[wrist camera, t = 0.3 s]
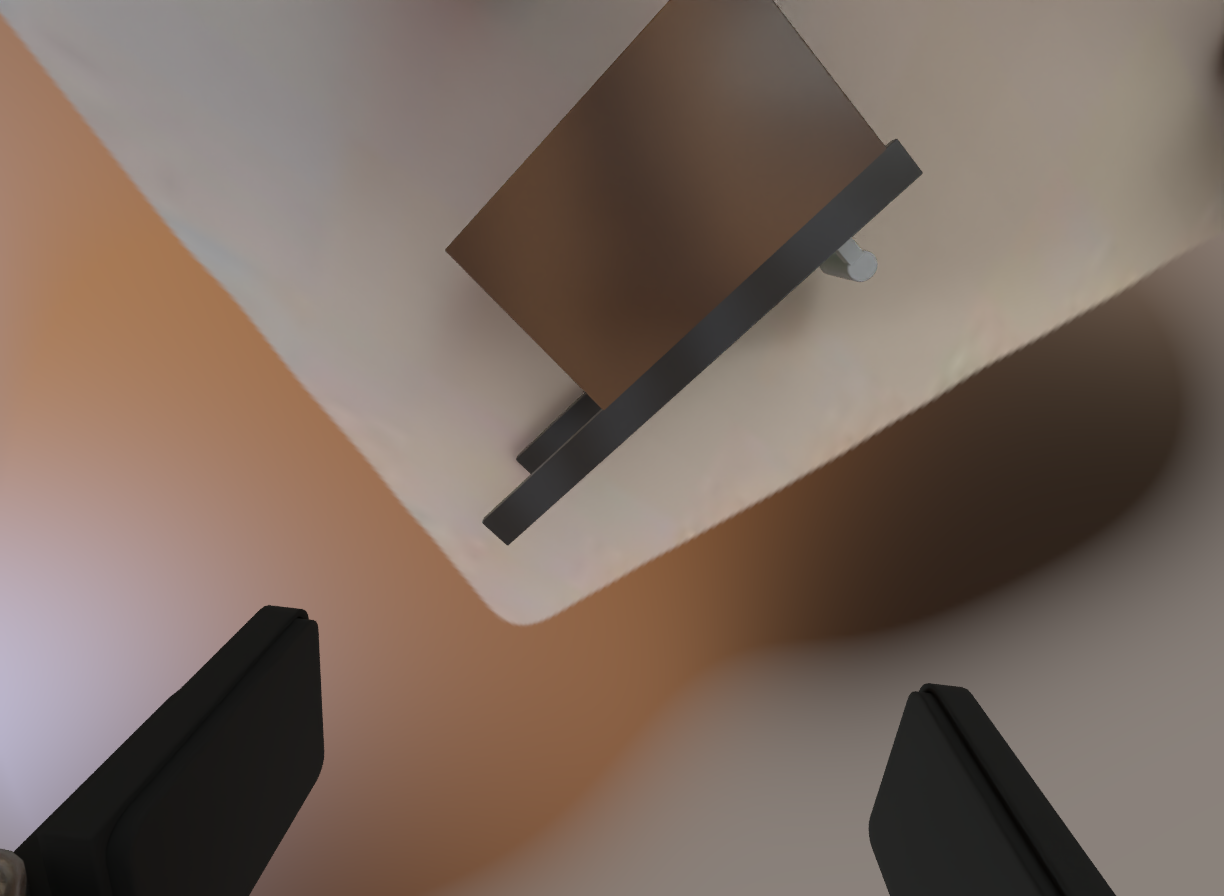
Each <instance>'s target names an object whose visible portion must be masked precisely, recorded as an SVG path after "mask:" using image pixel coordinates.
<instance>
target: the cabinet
mask: <svg viewBox="0 0 1224 896" xmlns="http://www.w3.org/2000/svg"><path fill="white" fill-rule="evenodd" d="M920 175H922V171H921V170H920V168H919V167H918V166H917V164H916V163H915V162H914V160H913V159H912V158H911V156H910V155H909V154H908V153H907V151H906V150H905V149H904V147H903V146H902V145H901V143H900V142H899V141H898V139H895V140H892V141H890V142H889V143H888V144H887V145H886V146H884V144H883V143H882V142H881V140H880V139H879V138H878V136H877V135H876V134H875V133H874V131H873V130H872V129H871V127H870V126H869V125H868V123H867V122H866V121H865V120H864V118H863V117H862V116H861V114H860V113H859V112H858V110H857V109H856V108H855V107H854V105H853V104H852V103H851V101H850V100H849V99H848V97H847V96H846V95H845V94H844V92H843V91H842V90H841V88H840V87H839V86H838V84H837V83H836V82H835V81H834V79H833V78H832V77H831V75H830V74H829V73H828V71H827V70H826V69H825V68H824V66H823V65H822V64H821V62H820V61H819V60H818V58H817V57H816V56H815V55H814V53H813V52H812V51H811V49H810V48H809V47H808V45H807V44H806V43H805V42H804V40H803V39H802V38H801V36H800V35H799V34H798V32H797V31H796V30H795V29H794V27H793V26H792V25H791V23H790V22H789V21H788V19H787V18H786V17H785V16H784V14H783V13H782V12H781V10H780V9H779V8H778V6H777V5H776V4H775V3H774V1H773V0H669V1H668V2H667V4H666V5H665V6H664V7H663V8H662V9H661V10H660V11H659V12H658V14H657V15H656V16H655V17H654V18H653V19H652V20H651V21H650V22H649V24H648V25H647V26H646V27H645V28H644V29H643V30H642V31H641V32H640V34H639V35H638V36H637V37H636V38H635V39H634V40H633V41H632V42H631V44H630V45H629V46H628V47H627V48H626V49H625V50H624V51H623V52H622V54H621V55H620V56H619V57H618V58H617V59H616V60H615V61H614V62H613V64H612V65H611V66H610V67H609V68H608V69H607V70H606V71H605V72H604V74H603V75H602V76H601V77H600V78H599V79H598V80H597V81H596V82H595V84H594V85H593V86H592V87H591V88H590V89H589V90H588V91H587V93H586V94H585V95H584V96H583V97H582V98H581V99H580V100H579V101H578V103H577V104H576V105H575V106H574V107H573V108H572V109H571V110H570V111H569V113H568V114H567V115H566V116H565V117H564V118H563V119H562V120H561V121H560V123H559V124H558V125H557V126H556V127H555V128H554V129H553V130H552V131H551V133H550V134H549V135H548V136H547V137H546V138H545V139H544V140H543V141H542V143H541V144H540V145H539V146H538V147H537V148H536V149H535V150H534V151H533V153H532V154H531V155H530V156H529V157H528V158H527V159H526V160H525V161H524V163H523V164H522V165H521V166H520V167H519V168H518V169H517V170H516V171H515V173H514V174H513V175H512V176H511V177H510V178H509V179H508V180H507V181H506V183H505V184H504V185H503V186H502V187H501V188H500V189H499V190H498V191H497V193H496V194H495V195H494V196H493V197H492V198H491V199H490V200H489V201H488V203H487V204H486V205H485V206H484V207H483V208H482V209H481V210H480V211H479V213H478V214H477V215H476V216H475V217H474V218H473V219H472V220H471V221H470V223H469V224H468V225H467V226H466V227H465V228H464V229H463V230H462V231H461V233H460V234H459V235H458V236H457V237H456V238H455V239H454V240H453V241H452V243H451V244H450V245H449V246H448V247H447V248H446V249H445V251H446V252H447V253H448V254H449V255H450V256H451V257H452V258H453V259H454V260H455V261H456V262H457V263H458V264H459V265H460V266H461V267H462V268H463V269H464V270H465V271H466V272H467V273H468V274H469V275H470V276H471V277H472V278H473V279H474V280H475V281H476V282H477V283H478V284H479V285H480V286H481V288H482V289H483V290H484V291H485V292H486V293H487V294H488V295H489V296H490V297H491V298H492V299H493V300H494V301H495V302H496V303H497V304H498V305H499V306H500V307H501V308H502V309H503V310H504V311H505V312H506V313H507V314H508V315H509V316H510V317H511V318H512V319H513V320H514V321H515V322H516V323H517V324H518V325H519V326H520V327H521V328H522V329H523V330H524V331H525V332H526V333H527V334H528V335H529V336H530V337H531V338H532V339H533V340H534V341H535V342H536V343H537V344H538V345H539V346H540V347H541V348H542V349H543V350H544V351H545V352H546V353H547V354H548V355H549V356H550V357H551V358H552V359H553V360H554V361H555V362H556V363H557V364H558V365H559V366H560V367H561V368H562V369H563V370H564V371H565V372H566V373H567V374H568V375H569V376H570V377H571V378H572V379H573V380H574V381H575V382H576V383H577V384H578V385H579V386H580V387H581V388H582V389H583V390H584V391H585V393H584V394H582V395H581V396H580V397H579V398H578V399H577V400H576V401H575V402H574V403H573V404H572V405H571V406H570V407H569V408H568V409H567V410H566V411H564V412H563V413H562V414H561V415H560V416H559V417H558V418H557V419H556V420H555V421H554V422H553V423H552V424H551V425H550V426H549V427H548V428H546V429H545V430H544V431H543V432H542V433H541V434H540V435H539V436H538V437H537V438H536V439H535V440H534V441H533V442H532V443H531V444H530V445H528V446H527V447H526V448H525V449H524V450H523V451H522V452H521V453H520V454H519V455H518V457H517V458H516V460H517V461H518V462H519V463H520V464H521V465H522V466H523V467H524V468H525V469H526V470H527V471H528V472H530V473H531V475H530V476H529V477H528V478H526V479H525V480H524V481H523V482H522V483H521V484H520V485H519V486H518V487H517V488H516V489H515V490H513V491H512V492H511V493H510V494H509V495H508V496H507V497H506V498H505V499H504V500H503V501H502V502H501V503H499V504H498V505H497V506H496V507H495V508H494V509H493V510H492V511H491V512H490V513H489V514H488V515H486V516H485V517H484V519H483V521H482V523H483V524H484V525H485V526H486V527H487V528H488V529H490V530H491V531H492V532H493V533H494V534H495V535H496V536H497V537H498V538H499V539H501V540H502V541H503V542H504V543H505V544H506V545H509V544H510V543H511V542H512V541H514V540H515V539H516V538H517V537H518V536H519V535H520V534H521V533H522V532H524V531H525V530H526V529H527V528H528V527H529V526H530V525H531V524H533V523H534V522H535V521H536V520H537V519H538V518H539V517H540V516H541V515H543V514H544V513H545V512H546V511H547V510H548V509H549V508H550V507H551V506H553V505H554V504H555V503H556V502H557V501H558V500H559V499H560V498H562V497H563V496H564V495H565V494H566V493H567V492H568V491H569V490H570V489H572V488H573V487H574V486H575V485H576V484H577V483H578V482H579V481H580V480H582V479H583V478H584V477H585V476H586V475H587V474H588V473H589V472H590V471H592V470H593V469H594V468H595V467H596V466H597V465H598V464H599V463H601V462H602V461H603V460H604V459H605V458H606V457H607V456H608V455H609V454H611V453H612V452H613V451H614V450H615V449H616V448H617V447H618V446H619V445H621V444H622V443H623V442H624V441H625V440H626V439H627V438H628V437H630V436H631V435H632V434H633V433H634V432H635V431H636V430H637V429H638V428H640V427H641V426H642V425H643V424H644V423H645V422H646V421H647V420H648V419H650V418H651V417H652V416H653V415H654V414H655V413H656V412H657V411H658V410H660V409H661V408H662V407H663V406H664V405H665V404H666V403H667V402H669V401H670V400H671V399H672V398H673V397H674V396H675V395H676V394H677V393H679V392H680V391H681V390H682V389H683V388H684V387H685V386H686V385H687V384H689V383H690V382H691V381H692V380H693V379H694V378H695V377H696V376H698V375H699V374H700V373H701V372H702V371H703V370H704V369H705V368H706V367H708V366H709V365H710V364H711V363H712V362H713V361H714V360H715V359H716V358H718V357H719V356H720V355H721V354H722V353H723V352H724V351H725V350H726V349H728V348H729V347H730V346H731V345H732V344H733V343H734V342H735V341H737V340H738V339H739V338H740V337H741V336H742V335H743V334H744V333H745V332H747V331H748V330H749V329H750V328H751V327H752V326H753V325H754V324H755V323H757V322H758V321H759V320H760V319H761V318H762V317H763V316H764V315H765V314H767V313H768V312H769V311H770V310H771V309H772V308H773V307H774V306H776V305H777V304H778V303H779V302H780V301H781V300H782V299H783V298H784V297H786V296H787V295H788V294H789V293H790V292H791V291H792V290H793V289H794V288H796V287H797V286H798V285H799V284H800V283H801V282H802V281H803V280H805V279H806V278H807V277H808V276H809V275H810V274H811V273H812V272H813V271H815V270H816V269H817V268H818V267H819V266H820V265H821V264H822V263H823V262H825V261H826V260H827V259H828V258H829V257H830V256H831V255H832V254H833V253H835V252H836V251H837V250H838V249H839V248H840V247H841V246H842V245H844V244H845V243H846V242H847V241H848V240H849V239H850V238H851V237H852V236H854V235H855V234H856V233H857V232H858V231H859V230H860V229H861V228H862V227H864V226H865V225H866V224H867V223H868V222H869V221H870V220H871V219H873V218H874V217H875V216H876V215H877V214H878V213H879V212H880V211H881V210H883V209H884V208H885V207H886V206H887V205H888V204H889V203H890V202H891V201H893V200H894V199H895V198H896V197H897V196H898V195H899V194H900V193H901V192H903V191H904V190H905V189H906V188H907V187H908V186H909V185H910V184H912V183H913V182H914V181H915V180H916V179H917V178H918V177H919V176H920Z"/></svg>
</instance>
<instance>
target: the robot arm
mask: <svg viewBox="0 0 1224 896" xmlns="http://www.w3.org/2000/svg"><path fill="white" fill-rule="evenodd" d="M319 656H320V654H319V633H318V624H317V623H316V621H314V620H309V618H308V614H307V612H306V611H305V610H303V609H296V608H288V607H279V606H271V605H268V606H264V607H263V608H262V609H260V610H259V611H258V612H257V613H256V614H255V615H254V616H253V617H252V618H251V619H250V620H249V621H248V622H247V623H246V624H245V625H244V626H243V627H242V628H241V629H240V630H239V631H238V632H237V633H236V634H235V635H234V636H233V637H232V638H231V639H230V640H229V641H228V642H227V643H226V644H225V645H224V646H223V647H222V648H221V649H220V650H219V651H218V652H217V653H216V654H215V655H214V656H213V657H212V658H211V659H210V660H209V661H208V662H207V663H206V664H205V665H204V666H203V667H202V668H201V669H200V670H199V671H198V672H197V673H196V674H195V675H194V676H193V677H192V678H191V679H190V680H189V681H188V682H187V683H186V684H185V685H184V686H183V687H182V688H181V689H180V690H178V691H177V692H176V693H174V694H173V695H172V696H171V697H170V698H168V699H167V700H166V701H165V702H164V703H163V704H162V705H161V706H160V707H159V708H158V709H157V710H156V712H154V713H153V714H152V715H151V716H150V717H149V718H148V719H147V720H146V721H145V722H144V723H143V724H142V725H141V726H140V727H139V728H138V729H137V730H136V731H135V732H134V733H133V734H132V735H131V736H130V737H129V738H128V739H127V740H126V741H125V742H124V743H123V744H122V745H121V746H120V747H119V748H118V749H117V750H116V751H115V752H114V753H113V754H112V755H111V756H110V757H109V758H108V759H107V760H106V761H105V762H104V763H103V764H102V765H101V766H100V767H99V768H98V769H97V770H96V771H95V772H94V773H93V774H92V775H91V776H90V777H89V778H88V779H87V780H86V781H85V782H84V783H83V784H82V785H81V786H80V787H79V788H78V789H77V790H76V791H75V792H74V793H73V794H72V795H71V796H70V797H69V798H68V799H67V800H66V801H65V802H64V803H62V805H61V806H60V807H58V809H56V810H55V811H54V812H53V814H52V815H50V816H49V817H48V818H47V819H46V820H45V821H44V822H43V823H42V824H41V825H40V826H39V827H38V828H37V829H36V830H35V831H34V832H33V833H32V834H31V835H30V836H29V837H28V838H27V839H26V840H25V841H24V842H23V843H22V844H21V845H20V846H19V847H18V848H17V849H16V850H15V851H14V852H12V851H9V850H4V849H0V896H249V895H250V893H251V891H252V889H253V888H254V886H255V884H256V883H257V881H258V879H259V878H260V876H261V874H262V872H263V871H264V869H265V867H266V866H267V864H268V862H269V861H270V859H271V857H272V856H273V854H274V852H275V850H276V849H277V847H278V845H279V844H280V842H281V840H282V839H283V837H284V835H285V834H286V832H287V830H288V828H289V827H290V825H291V823H292V822H293V820H294V818H295V817H296V815H297V813H298V811H299V810H300V808H301V806H302V805H303V803H304V801H305V799H306V798H307V796H308V794H309V793H310V791H311V789H312V788H313V786H314V784H315V782H316V781H317V779H318V777H319V774H320V772H321V769H322V765H323V760H324V738H323V718H322V697H321V676H320V657H319ZM869 837H870V843H871V846H872V849H873V852H874V854H875V857H876V860H877V862H878V865H879V868H880V870H881V873H882V875H883V878H884V881H885V884H886V886H887V889H888V892H889V894H890V896H1116V895H1115V894H1114V892H1113V891H1112V889H1111V888H1110V887H1109V885H1108V884H1107V882H1106V881H1105V880H1104V878H1103V877H1102V875H1101V874H1100V873H1099V871H1098V870H1097V868H1096V867H1095V866H1094V864H1093V863H1092V861H1091V860H1090V859H1089V857H1088V856H1087V855H1086V853H1085V852H1084V850H1083V849H1082V848H1081V846H1080V845H1079V843H1078V842H1077V840H1076V839H1075V838H1074V837H1073V835H1072V833H1071V832H1070V831H1069V830H1068V828H1067V827H1066V825H1065V824H1064V822H1063V821H1062V820H1061V818H1060V817H1059V815H1058V814H1057V813H1056V811H1055V810H1054V808H1053V807H1052V806H1051V804H1050V803H1049V801H1048V800H1047V799H1046V797H1045V796H1044V795H1043V793H1042V792H1041V790H1040V789H1039V787H1038V786H1037V785H1036V783H1035V782H1034V780H1033V779H1032V778H1031V776H1030V775H1029V773H1028V772H1027V771H1026V769H1025V768H1024V766H1023V765H1022V764H1021V762H1020V761H1019V759H1018V758H1017V757H1016V756H1015V754H1014V752H1013V751H1012V750H1011V748H1010V747H1009V746H1008V744H1007V743H1006V741H1005V740H1004V738H1003V737H1002V736H1001V734H1000V733H999V731H998V730H997V729H996V727H995V726H994V725H993V723H992V722H991V720H990V719H989V718H988V716H987V715H986V713H985V712H984V711H983V709H982V708H981V706H980V705H979V704H978V702H977V701H976V699H975V698H974V697H973V695H972V694H971V693H970V692H969V691H968V690H967V689H965V688H963V687H956V686H947V685H939V684H931V683H928V684H924V685H923V686H922V687H921V688H920V690H919V692H916V691H915V692H912V693H911V694H910V695H909V698H908V700H907V703H906V706H905V710H904V712H903V716H902V719H901V722H900V725H899V728H898V732H897V734H896V738H895V741H894V744H893V747H892V750H891V753H890V757H889V760H888V763H887V766H886V769H885V772H884V775H883V779H882V782H881V785H880V788H879V791H878V794H877V797H876V800H875V804H874V807H873V810H872V813H871V816H870V821H869Z"/></svg>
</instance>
